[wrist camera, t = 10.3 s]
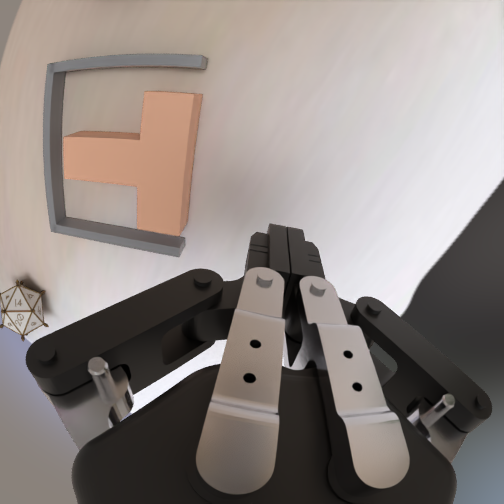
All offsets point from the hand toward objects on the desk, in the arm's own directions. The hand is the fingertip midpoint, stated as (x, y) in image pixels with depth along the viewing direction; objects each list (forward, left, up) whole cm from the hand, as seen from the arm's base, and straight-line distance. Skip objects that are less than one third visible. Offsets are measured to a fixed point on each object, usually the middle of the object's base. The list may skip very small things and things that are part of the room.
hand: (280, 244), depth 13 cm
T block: (0, -13, -13) cm, 18 cm away
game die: (+22, -31, -13) cm, 40 cm away
